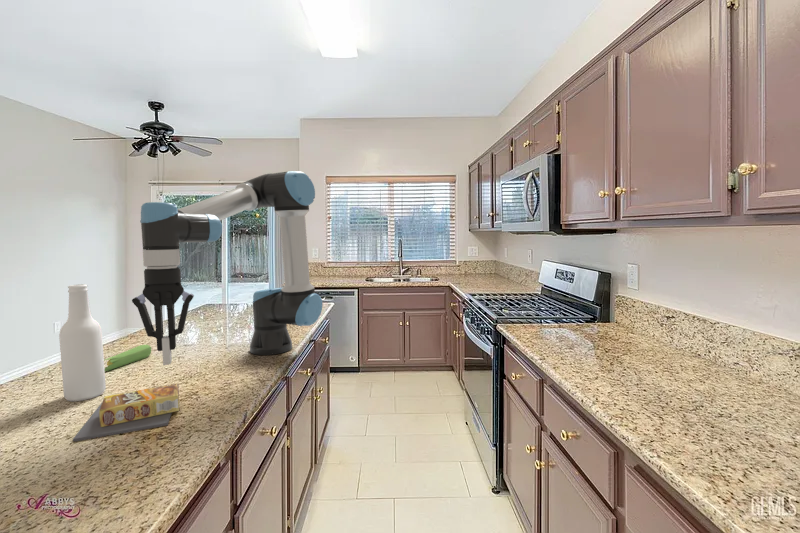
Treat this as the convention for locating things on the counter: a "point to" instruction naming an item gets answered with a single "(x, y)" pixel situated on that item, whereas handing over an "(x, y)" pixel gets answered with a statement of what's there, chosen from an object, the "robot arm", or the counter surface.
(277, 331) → the robot arm
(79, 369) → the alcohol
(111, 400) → the candy box
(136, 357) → the edible corn
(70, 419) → the counter surface
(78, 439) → the rubber mat
